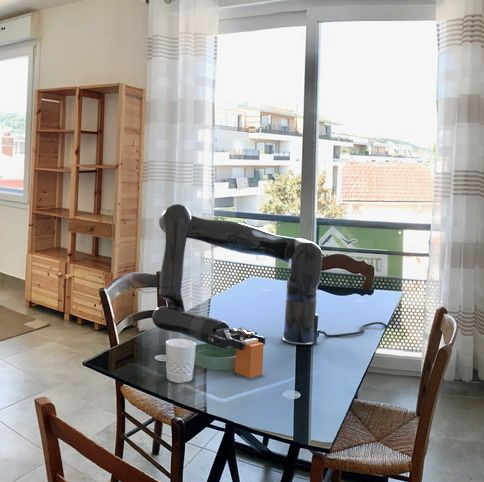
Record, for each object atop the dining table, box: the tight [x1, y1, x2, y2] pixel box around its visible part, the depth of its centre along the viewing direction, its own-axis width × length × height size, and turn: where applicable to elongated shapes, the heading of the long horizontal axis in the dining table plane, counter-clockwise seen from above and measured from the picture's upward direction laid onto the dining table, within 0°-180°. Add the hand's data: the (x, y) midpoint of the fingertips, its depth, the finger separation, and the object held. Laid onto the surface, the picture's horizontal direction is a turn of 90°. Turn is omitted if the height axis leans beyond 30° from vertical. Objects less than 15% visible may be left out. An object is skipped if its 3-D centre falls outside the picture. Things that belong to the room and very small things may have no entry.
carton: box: [234, 338, 265, 379], centre depth 168 cm, size 5×5×10 cm
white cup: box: [165, 338, 197, 384], centre depth 165 cm, size 8×8×10 cm
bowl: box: [194, 342, 236, 371], centre depth 178 cm, size 14×14×4 cm
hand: (254, 344), depth 167 cm, fingers open, 8 cm apart
